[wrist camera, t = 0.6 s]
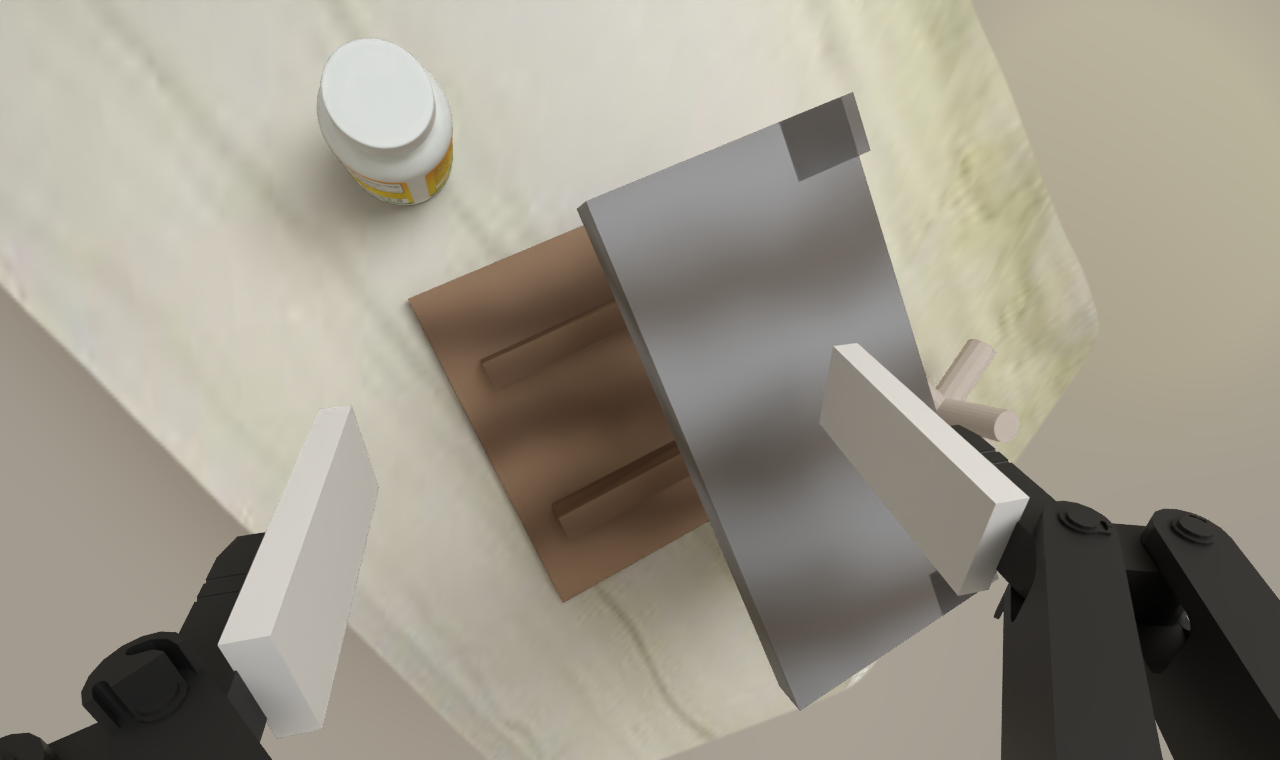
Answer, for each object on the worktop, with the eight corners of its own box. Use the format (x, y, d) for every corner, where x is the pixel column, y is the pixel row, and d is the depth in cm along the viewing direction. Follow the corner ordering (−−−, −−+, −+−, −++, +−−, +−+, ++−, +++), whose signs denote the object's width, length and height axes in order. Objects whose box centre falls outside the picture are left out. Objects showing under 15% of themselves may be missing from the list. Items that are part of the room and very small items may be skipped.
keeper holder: (409, 299, 33) (358, 294, 16) (691, 180, 36) (876, 82, 20) (560, 595, 37) (637, 819, 21) (797, 462, 41) (1016, 566, 25)
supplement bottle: (374, 220, 32) (339, 187, 22) (326, 119, 30) (268, 41, 21) (470, 187, 33) (474, 141, 24) (427, 88, 32) (414, 0, 22)
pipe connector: (797, 417, 40) (900, 451, 31) (878, 300, 41) (1004, 299, 32) (890, 492, 44) (1010, 545, 34) (964, 382, 44) (1101, 404, 35)
